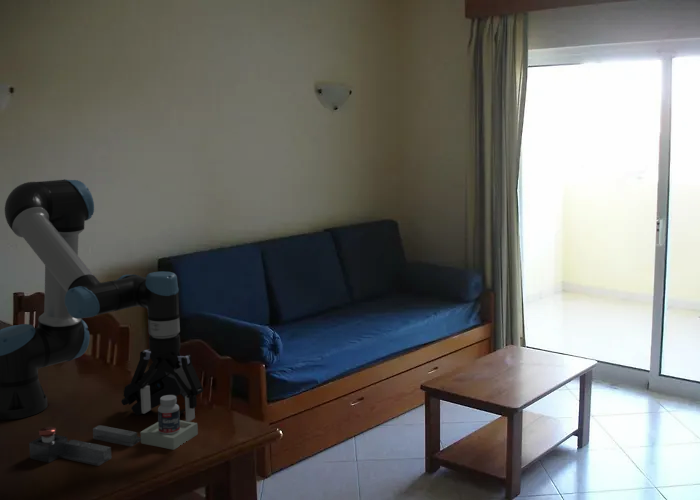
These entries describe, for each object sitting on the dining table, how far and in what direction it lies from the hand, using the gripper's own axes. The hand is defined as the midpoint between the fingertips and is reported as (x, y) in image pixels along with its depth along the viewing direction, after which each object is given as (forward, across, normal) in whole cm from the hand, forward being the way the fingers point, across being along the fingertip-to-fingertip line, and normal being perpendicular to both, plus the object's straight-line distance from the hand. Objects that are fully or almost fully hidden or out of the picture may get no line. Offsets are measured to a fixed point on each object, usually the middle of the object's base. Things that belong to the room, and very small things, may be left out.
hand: (168, 415), depth 182 cm
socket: (+6, -12, -11) cm, 17 cm away
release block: (+6, -21, -19) cm, 29 cm away
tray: (+6, 0, 0) cm, 6 cm away
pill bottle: (+4, 0, 0) cm, 4 cm away
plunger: (+5, -21, -19) cm, 29 cm away
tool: (+6, -14, +13) cm, 20 cm away
